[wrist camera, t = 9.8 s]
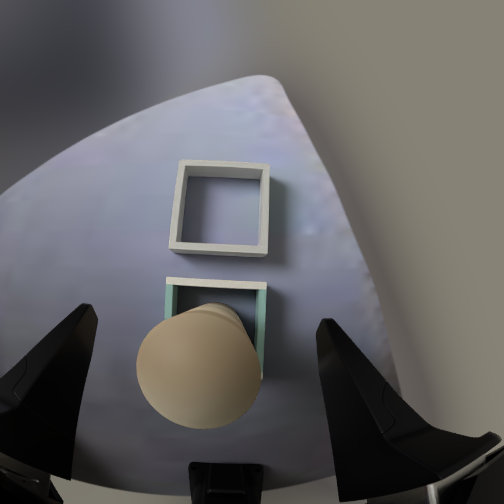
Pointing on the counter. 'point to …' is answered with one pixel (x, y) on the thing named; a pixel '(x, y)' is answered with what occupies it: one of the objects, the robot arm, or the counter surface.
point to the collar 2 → (260, 287)
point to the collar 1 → (229, 171)
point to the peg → (200, 367)
